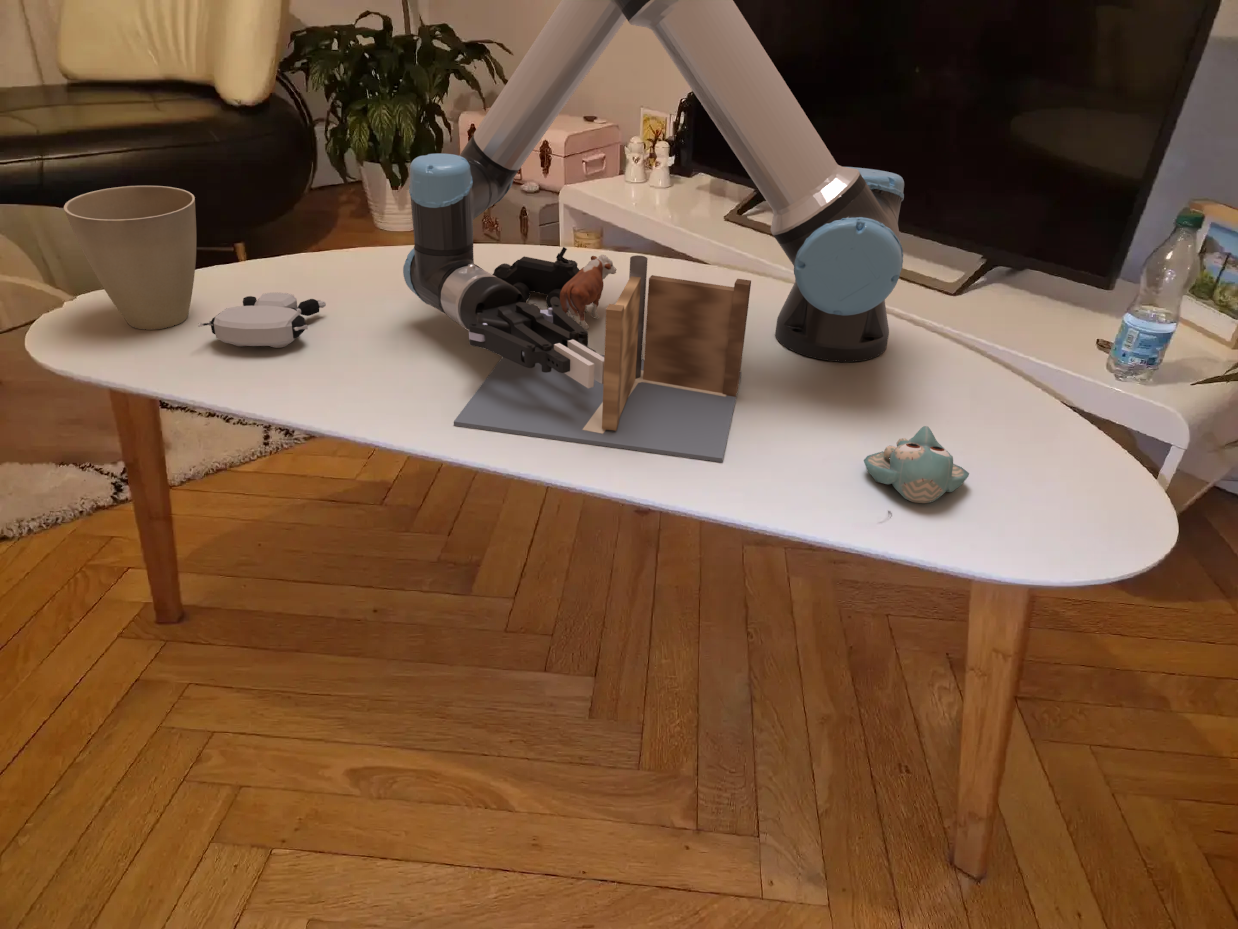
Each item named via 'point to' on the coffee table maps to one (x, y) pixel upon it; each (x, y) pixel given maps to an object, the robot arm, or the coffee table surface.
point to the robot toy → (264, 320)
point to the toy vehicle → (539, 276)
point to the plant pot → (140, 249)
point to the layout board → (575, 412)
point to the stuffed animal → (917, 468)
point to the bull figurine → (586, 288)
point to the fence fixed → (691, 331)
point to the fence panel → (620, 352)
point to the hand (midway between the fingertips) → (597, 374)
